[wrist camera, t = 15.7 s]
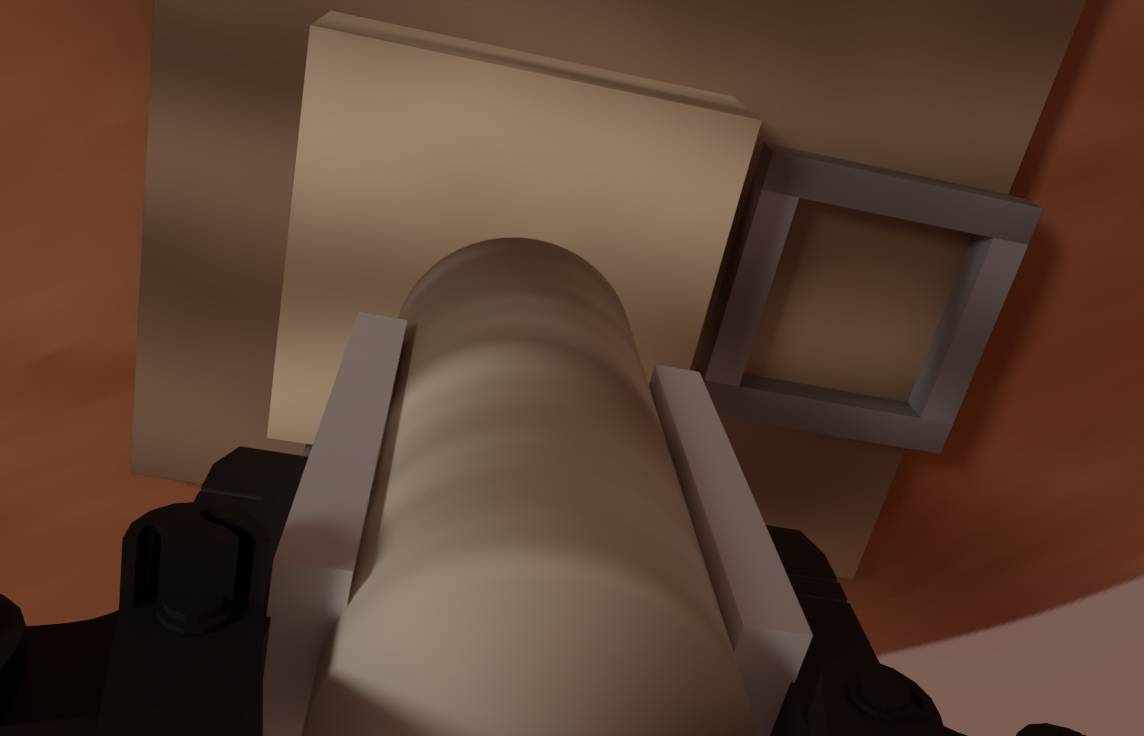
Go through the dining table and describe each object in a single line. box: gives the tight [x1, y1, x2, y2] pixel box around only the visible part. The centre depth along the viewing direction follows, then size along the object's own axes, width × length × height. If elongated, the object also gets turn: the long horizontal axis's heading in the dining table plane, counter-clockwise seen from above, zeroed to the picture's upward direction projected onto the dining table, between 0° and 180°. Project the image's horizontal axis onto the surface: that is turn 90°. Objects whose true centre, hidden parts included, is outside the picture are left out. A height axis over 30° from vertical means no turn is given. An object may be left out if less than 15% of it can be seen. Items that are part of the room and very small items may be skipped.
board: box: [130, 0, 1087, 580], centre depth 24 cm, size 22×22×6 cm
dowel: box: [301, 237, 755, 736], centre depth 14 cm, size 4×4×10 cm
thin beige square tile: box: [267, 11, 762, 445], centre depth 25 cm, size 10×10×3 cm
